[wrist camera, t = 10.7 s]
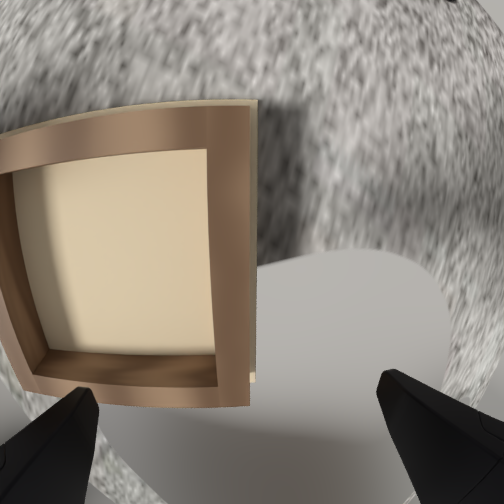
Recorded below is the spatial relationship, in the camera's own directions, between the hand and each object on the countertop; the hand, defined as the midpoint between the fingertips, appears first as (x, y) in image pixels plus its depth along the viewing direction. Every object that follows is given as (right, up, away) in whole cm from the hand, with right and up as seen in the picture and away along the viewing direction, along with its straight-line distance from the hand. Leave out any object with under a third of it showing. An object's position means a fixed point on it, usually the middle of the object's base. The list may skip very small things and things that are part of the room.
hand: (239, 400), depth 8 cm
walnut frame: (-9, +3, +10) cm, 14 cm away
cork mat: (-9, +3, +10) cm, 14 cm away
